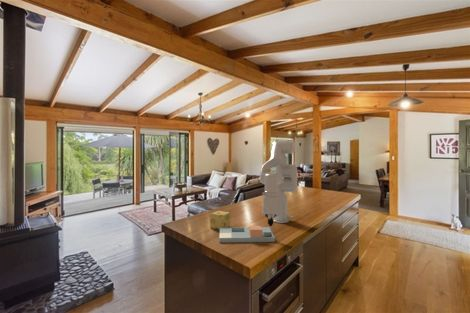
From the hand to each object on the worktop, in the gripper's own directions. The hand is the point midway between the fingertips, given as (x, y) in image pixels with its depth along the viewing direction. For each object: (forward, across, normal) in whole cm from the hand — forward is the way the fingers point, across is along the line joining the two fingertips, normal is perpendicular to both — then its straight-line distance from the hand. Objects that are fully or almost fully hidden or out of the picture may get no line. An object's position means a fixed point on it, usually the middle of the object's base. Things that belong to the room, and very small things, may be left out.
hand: (270, 225), depth 138 cm
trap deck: (+8, -14, +5) cm, 17 cm away
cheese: (+8, -30, +23) cm, 39 cm away
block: (+6, -9, 0) cm, 11 cm away
